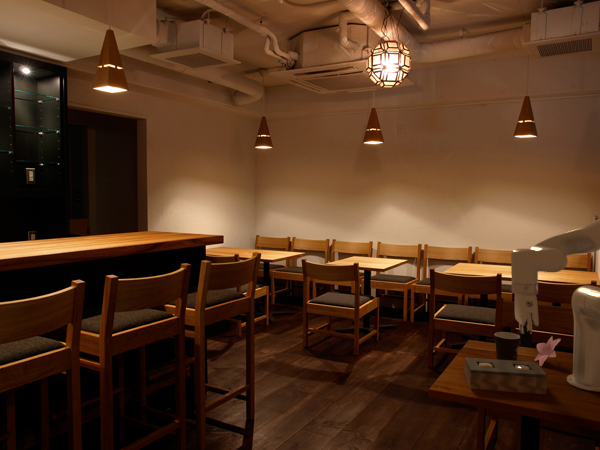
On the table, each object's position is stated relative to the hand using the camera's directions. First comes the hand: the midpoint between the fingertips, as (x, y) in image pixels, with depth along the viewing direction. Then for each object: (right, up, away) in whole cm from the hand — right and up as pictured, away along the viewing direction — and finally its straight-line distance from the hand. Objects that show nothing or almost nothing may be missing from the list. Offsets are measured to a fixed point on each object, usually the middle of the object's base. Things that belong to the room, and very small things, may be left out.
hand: (525, 345), depth 151 cm
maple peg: (-12, -13, +3) cm, 18 cm away
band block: (-6, -13, +2) cm, 14 cm away
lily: (+18, -12, +22) cm, 31 cm away
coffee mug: (+5, -12, +23) cm, 26 cm away
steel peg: (-1, -13, +1) cm, 13 cm away
